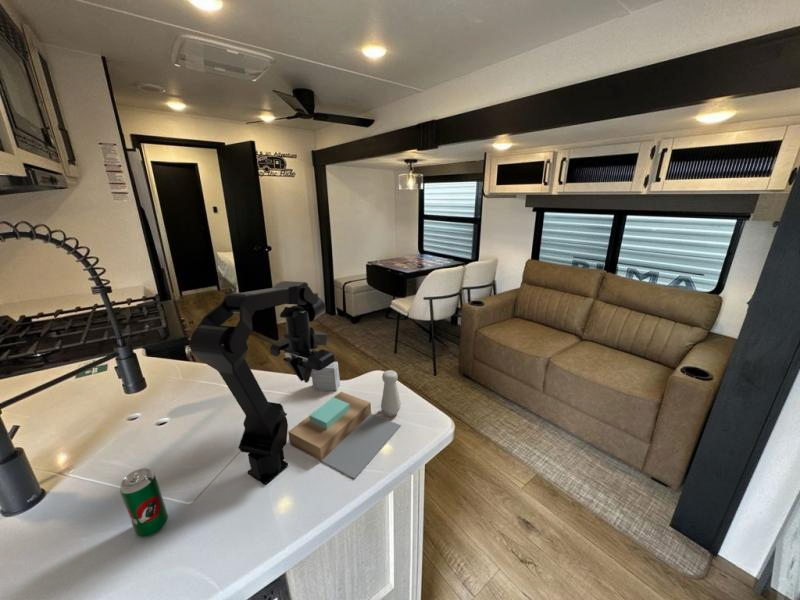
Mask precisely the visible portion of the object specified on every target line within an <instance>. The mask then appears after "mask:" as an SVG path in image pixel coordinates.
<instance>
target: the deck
mask: <svg viewBox="0 0 800 600" xmlns="http://www.w3.org/2000/svg"><path fill="white" fill-rule="evenodd" d="M333 397H334V398H336V399H339V400H341V401H344V402H346V403H349V404H350V410H349V411H348V412H347V413H346V414H345V415H343V416H342V417H341V418H340V419H339V420H338V421H336V422H335V423H334V424H333V425H332V426H331V427H329V428H328V429H325V428H323V427H321V426H318V425H316V424H314V423H312V422H310V417H309V415H308V416H307V417H306V418H304V419H303V420H301V421H300V422H299V423H297V424H296V425H295V426H294V427H293V428H291V429H290V430H288V431H287V435H288V441H289V445H290V446H292V447H293V448H296V449H297V450H299V451H301V452H303V453H305V454H307V455H309V456H311V457H312V458H314V459H317V460H318V461H319V462H321V463H323V462H322V460H323V459H324V458H325V457H326V456H327V455H328V454H329V453H330V452H331V451H332V450H333V449H334V448H335V447H336V446H338V445H339V444H340V443H341V442H342V441H343V440H344V439H345V438H346V437H347V436H348V435H349V434H350V433H351V432H352V431H353V430H354V429H355V428H356V427H357V426H359V425H360V424H361V423H362V422H363V421H364V420H365V419H366V418H367V417H368V416H369V415H370V414H372V407H371V406H372V405H371V403H372V402H370V401H367V400H365V399H362V398H359V397H357V396H354V395H351V394H349V393H345V392H343V391H340V392H338V393H337V394H336V395H335V396H333Z"/></svg>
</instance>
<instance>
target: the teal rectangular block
mask: <svg viewBox="0 0 800 600" xmlns="http://www.w3.org/2000/svg"><path fill="white" fill-rule="evenodd" d="M334 397H335V396H333V397H331V398H330V399H329V400H327V401H326V402H325V403H323V404H322V405H320V406H319V407H318V408H317V409H316V410H314V411H313V412H311V413H309V415H308V416H309V417H310V422H312V423H314V424H316V425H318V426H321V427H323V428H325V429H328V428H329V427H331V426H332V425H333V424H334V423H335V422H336V421H338V420H339V419H340V418H341V417H342V416H343V415H345V414H346V413H347V412H348V411H349V410H350V404H349V403H346V402H344V401H341V400H339V399H336V398H334Z"/></svg>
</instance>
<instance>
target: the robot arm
mask: <svg viewBox="0 0 800 600" xmlns="http://www.w3.org/2000/svg"><path fill="white" fill-rule="evenodd" d="M283 305H291V306H284V309H283V310H282V311H281V312H280V314H279V318H283V319H285V324H286V325H285V326H286V331H287V332H286V333H284V334H283V336H284V338H282V339H279V340H278V341H276V342H274V343H272V344H271V346H270V348H269V351H270V355H271V356H274V357H279V356H280V355H281V351H283V354H284V356H285V357H284V358H283V359H282V360H283V362H285V363H286V364H287V365H288V367H289V368H290V369H291V370H292V371H293V372H294V374H295V375H296V376H297V378H298V379H299V381H300V382H303V381H304V383H306V384H307V383H309V381H310V379H311V377H312V374H311V372H312V369H314V370H317V371H318V370H322V369H323V368H325V367H327V366H328V365H330V364H331V363H333V362H336V359H335V353H333V352H332V351H329V350H325V349H323V348H322V349H319V350H316V349H318V346H327V345H328V337H329V333H326V332H322V331H317V330H314V327H311V325H310V323H311V322H313V321H315V320H316V319H317V318H319V317H320V316H321V315H322V314H324V313H325V312H326V304H325V302H324V301H323V300H322V298H321V297H319V293H316V292H313V290H312V289H311V287H310V286H309V284H308V282H307V281H291V280H283V281H280V282H277V283H276V284H274V286H273V287H270V288H264V289H258V290H257V289H255V290H250V291H245V292H231V293H228V294H226V295H225V297H224V298H223V300H222V301H221V302H220V304H219V305H217V306H216V307H215V308H213V309H211V311H209V312H208V313H207V314H206V315H204V317H202V319H201V321H200V322H199V324H198V325H197V327H196V328H195V330H194V331H193V332H192V335H191V337H190V340H189V343H188V344H189V348H190V351H191V352H192V353H193V354H194V356H196V357H197V358H198V359H199V360H200V361H201V362H202V363H204V364H206V365H208V366H209V367H211V368H212V369H214V370H215V371H217V372H218V373H219V375H220V377H221V378H222V380H223V381H224V383H225V384H226V386H227V388H228V390H229V391H230V393H231V394H232V395H233V397H234V399H235V400H236V403H237V404H238V405H239V407H240V408H241V410H242V412H243V413H244V416H245V417H244V421H243V424H242V425H243V427H244V430H243V433H242V435H241V436H242V437H241V439H240V441H239V444H238V447H237V448H238V450H239V451H240V452H241V453H247V457H248V462H249V466H250V469H249V470H248V471H247V475H249V476H250V477H252V478H253V479H255V480H256V481H257V482H259V483H261V484H262V485H263V486H267V485H268V484H269V483H270V482H272V480H274V479H275V478H276V477H277V476H278V475H280V473H282V472H283V471H284V470H285V469H286V468H287V467H289V463H288V462H287V461H285V453H284V448H285V447H286V445H287V443H288V441H287V439H288V431H289V430H288V429H289V423H288V418H287V415H288V413H286V412H285V410H284V406H283V405H282V404H281V403H279V402H271V401H268V399H267V398H266V396H265V394H264V392H263V390H262V387H261V386H260V385H259V383H258V380H257V378H256V377H255V375H254V373H253V372H252V369H251V368H250V366H249V364H248V362H247V360H246V357H247V353H248V350H249V347H248V343H247V341H248V340H249V337H250V335H251V334H252V332H253V316H254V313H255V312H258V311H261V310H266V309H270V308H274V307H278V306H283ZM234 314H239V321H238V322H237V324H236V326H230V325H223V324H224V323H225V322H226V321H229V319H230V318H231V317H232V316H234Z"/></svg>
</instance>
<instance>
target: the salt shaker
mask: <svg viewBox="0 0 800 600" xmlns="http://www.w3.org/2000/svg"><path fill="white" fill-rule="evenodd" d="M381 378H382V381H383V383H384V384H383V389H382V398H381V402H380V403H381V404H380V408H381V411H382V412H383V414H384V415H385V416H387V417H390V418H391V417H394V416H397V414H398V412H399V411H400V409H401V405H402V402H401V399H400V394H399V389H398V386H397V381H398V373H397V372H396V371H395V370H391V369H389V370H385V371H384V372H382V377H381Z"/></svg>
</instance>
